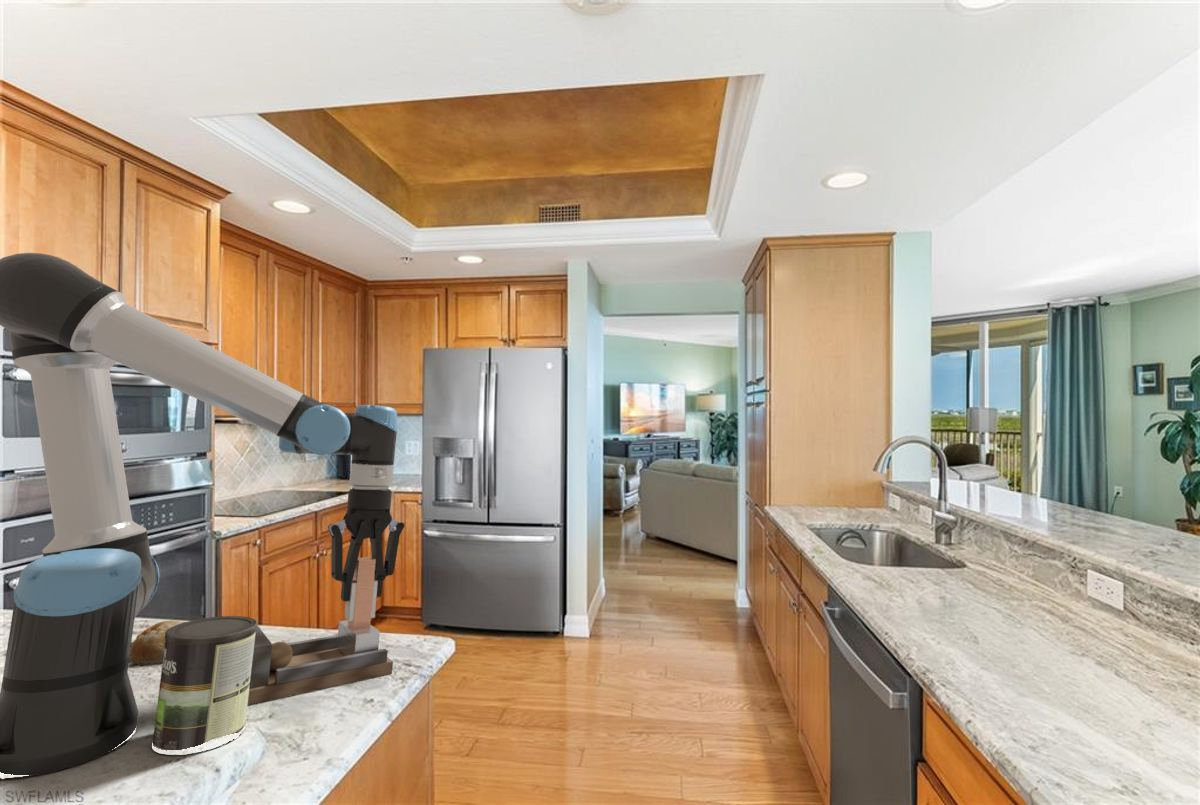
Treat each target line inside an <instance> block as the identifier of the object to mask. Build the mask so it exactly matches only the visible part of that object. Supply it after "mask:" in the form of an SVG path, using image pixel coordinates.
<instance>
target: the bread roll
mask: <svg viewBox="0 0 1200 805" xmlns="http://www.w3.org/2000/svg"><path fill="white" fill-rule="evenodd" d="M184 622H185V621H179V620H164V621H160V622H158V623H156V624H153V625H151V626H149V627H148V628H146V629H144V630H143V631H142V632H141V633H139V634H137V635H136V638H135V639H134V640H133V641H131V648H130V655H129V660H130V661H132V662H133V663H135V664H137V665H142V664H143V665H145V664H146V665H159V664H163V657H164V649H165V641H166V639H165V632H166V631H167V630H168V629H169V628H171V627H173V626H175V625H178V624H181V623H184Z"/></svg>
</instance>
